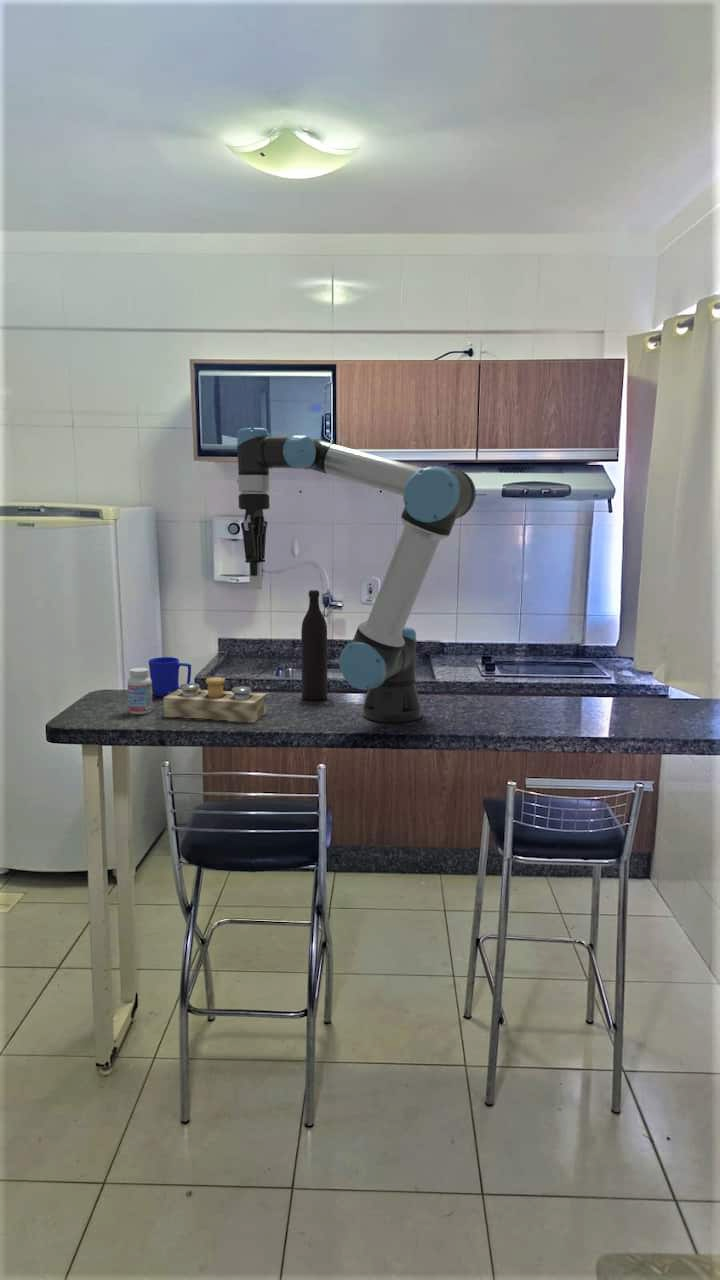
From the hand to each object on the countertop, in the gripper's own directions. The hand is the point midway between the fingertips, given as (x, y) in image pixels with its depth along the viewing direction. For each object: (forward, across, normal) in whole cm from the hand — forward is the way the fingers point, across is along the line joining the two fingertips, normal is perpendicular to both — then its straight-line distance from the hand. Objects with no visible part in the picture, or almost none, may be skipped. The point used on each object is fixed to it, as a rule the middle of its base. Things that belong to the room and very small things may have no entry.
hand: (255, 588), depth 200 cm
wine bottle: (+33, -18, +10) cm, 39 cm away
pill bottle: (+32, +6, -30) cm, 45 cm away
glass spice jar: (+32, +4, -3) cm, 32 cm away
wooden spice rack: (+32, +4, -10) cm, 34 cm away
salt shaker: (+32, +4, -17) cm, 36 cm away
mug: (+32, -12, -30) cm, 46 cm away
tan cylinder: (+30, +4, -10) cm, 32 cm away
